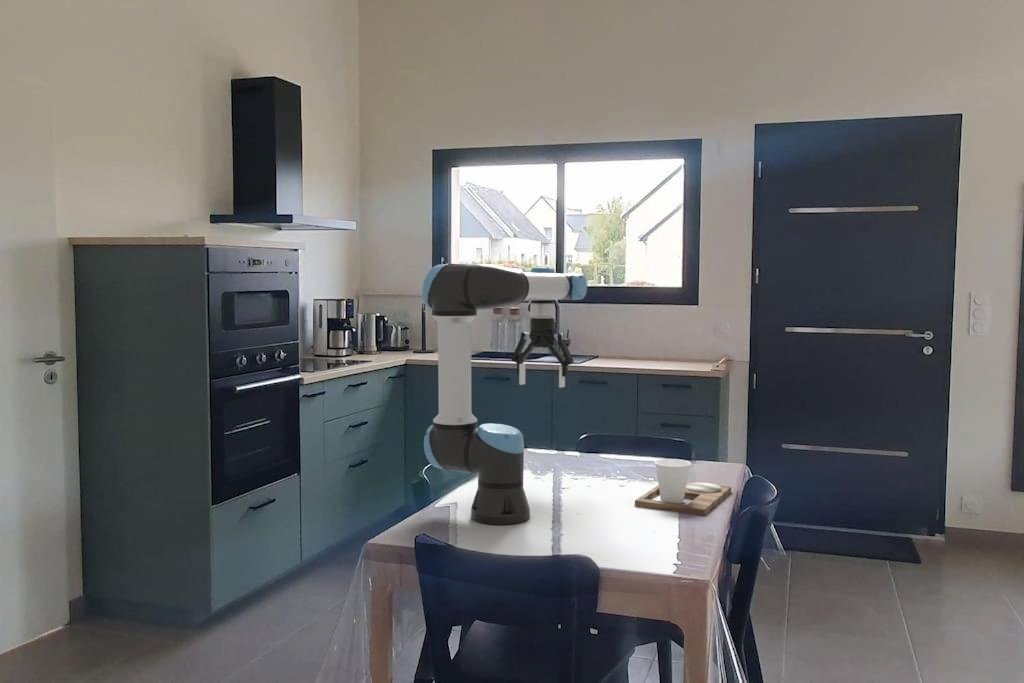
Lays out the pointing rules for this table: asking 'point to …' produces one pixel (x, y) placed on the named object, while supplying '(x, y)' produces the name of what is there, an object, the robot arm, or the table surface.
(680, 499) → the cup
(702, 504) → the board
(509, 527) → the table surface
